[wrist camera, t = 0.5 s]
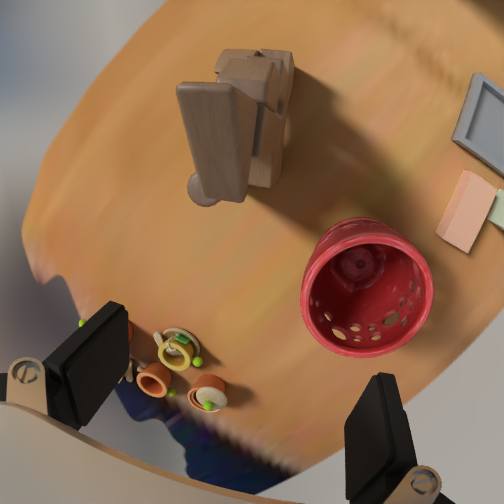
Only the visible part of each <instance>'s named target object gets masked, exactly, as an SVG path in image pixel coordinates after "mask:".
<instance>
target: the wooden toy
mask: <svg viewBox="0 0 504 504" xmlns="http://www.w3.org/2000/svg"><path fill="white" fill-rule="evenodd" d="M294 70H295V65H294V60H293V56H292V52H289V51H279V50H269V49H260V51H258V50H244V49H225V50H223V51H222V52H221V54H220V56H219V58H218V60H217V63H216V66H215V69H214V72H215V73H216V74H218V76H217V78H216V82H215V83H213V82H182V83H180V84H179V85H177V86H176V95H177V99H178V103H179V107H180V111H181V115H182V119H183V123H184V127H185V130H186V134H187V138H188V142H189V146H190V149H191V153H192V157H193V161H194V164H195V168H196V172H195V173H194V174H192V175H191V177H190V179H189V181H188V185H187V189H188V194H189V196H190V198H191V199H192V201H193V202H194V203H196V204H197V205H199V206H202V207H210V206H213V205H215V204H217V203H218V202H220V201H221V200H224V201H230V202H237V203H242V202H244V200H245V197H246V194H247V188H248V185H251V186H258V187H265V188H271V187H272V186H273V185H274V184H275V183H276V181H277V180H278V179H279V178H280V175H281V167H282V160H283V153H284V131H285V123H286V115H287V109H288V103H289V98H290V94H291V93H292V86H293V78H294Z"/></svg>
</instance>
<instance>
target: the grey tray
mask: <svg viewBox="0 0 504 504" xmlns="http://www.w3.org/2000/svg"><path fill="white" fill-rule="evenodd" d="M451 140H452V141H454V142H455V143H457V144H458V145H460V146H461V147H463V148H464V149H466V150H467V151H469V152H470V153H472V154H473V155H474V156H476V157H477V158H479V159H480V160H481V161H483V162H484V163H485V164H487V165H488V166H490V167H491V168H492V169H493V170H495V171H496V172H497V173H499V174H500V175H501V176H502V177H504V90H502V89H501V88H500V87H499V86H497V85H496V84H495V83H494V82H492V81H491V80H490V79H488V78H487V77H486V76H484V75H483V74H482V73H480V72H479V73H476V74H473V76H472V79H471V82H470V86H469V89H468V92H467V95H466V99H465V102H464V105H463V108H462V111H461V114H460V116H459V119H458V122H457V125H456V128H455V130H454V133H453V136H452V138H451Z"/></svg>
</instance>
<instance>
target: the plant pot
mask: <svg viewBox="0 0 504 504" xmlns="http://www.w3.org/2000/svg"><path fill="white" fill-rule="evenodd" d="M418 268H419V269H418ZM419 270H420V272H421V276H420V273H419ZM414 282H415V290H414V291H413V283H414ZM421 290H422V296H421V297H420V294H421ZM433 298H434V282H433V277H432V273H431V270H430V268H429V265H428V263H427V262H426V260H425V258H424V257H423V256H422V254H421V253H420V252H419V250H418V249H417V248H416V247H415V246H414V245H413V244H412V243H411V242H410V241H409V240H408V239H407V238H406V237H404V236H403V235H402V234H400V233H399V232H397V231H396V230H394V229H392V228H390V227H388V226H387V225H386V224H384V223H382V222H380V221H378V220H375V219H371V218H365V217H357V218H351V219H347V220H344V221H341V222H339V223H337V224H336V225H334V226H333V227H331V228H330V229H329V230H328V231H326V233H325V234H324V235H323V236H322V237H321V238H320V240H319V241H318V243H317V245H316V247H315V250H314V252H313V254H312V256H311V257H310V259H309V261H308V264H307V266H306V269H305V272H304V276H303V281H302V287H301V301H300V302H301V312H302V316H303V320H304V322H305V324H306V326H307V328H308V330H309V331H310V333H311V334H312V335H313V337H314V338H315V339H316V340H317V341H318V342H319V343H320V344H322V345H323V346H324V347H326V348H327V349H329V350H331V351H333V352H335V353H337V354H340V355H344V356H347V357H353V358H371V357H376V356H381V355H384V354H387V353H390V352H392V351H394V350H396V349H398V348H400V347H401V346H403V345H405V344H406V343H407V342H408V341H409V340H411V339H412V338H413V337H414V336H415V335H416V334H417V332H418V331H419V330H420V329H421V327H422V326H423V324H424V323H425V321H426V319H427V318H428V316H429V313H430V310H431V308H432V304H433ZM404 299H406V302H405V304H404V305H403V306H402V303H403V301H404ZM316 304H317V305H316ZM413 304H414V307H413V309H412V310H411V308H412V305H413ZM395 312H399V314H400V317H399V319H398V320H397V321H396V322H395V323H394V324H393V325H391V326H386V325H384V321H385V320H386V318H387V317H388V316H389V315H391V314H393V313H395ZM324 314H326V315H327V316H328V317H329V318H330V320H331V321H329V320H328V319H327V318H326V316H325V315H324ZM407 319H408V321H407V323H406V324H405V325H403V323H404V321H405V320H407ZM402 325H403V326H402ZM350 327H357V328H359V329H360V331H357V332H355V331H352V330H351V329H350ZM371 327H376V329H375V330H372V331H370V330H369V328H371ZM332 329H336V330H338V331H340V332H342V333H343V334H344V335H345V337H346V340H342V339H340V338H338V337H336V336H335V334H334V333H333V331H332ZM377 335H380V336H381V338H380V339H378V340H372V339H371V338H372V337H374V336H377ZM353 339H359V340H361V341H359V342H357V341H354V340H353Z"/></svg>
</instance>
